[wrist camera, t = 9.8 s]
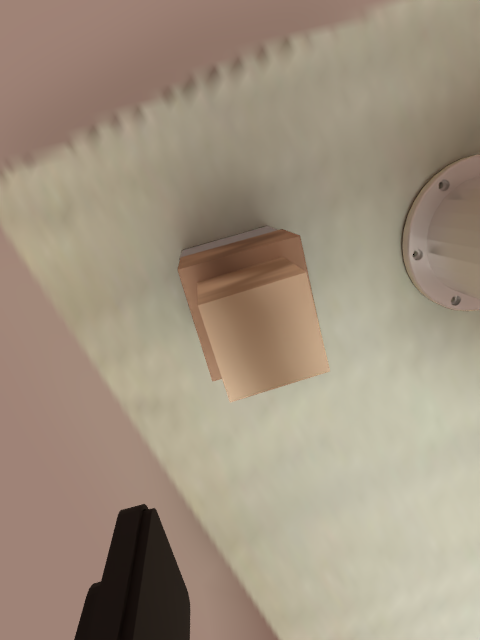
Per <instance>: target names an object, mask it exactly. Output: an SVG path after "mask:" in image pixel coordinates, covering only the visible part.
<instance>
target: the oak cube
mask: <svg viewBox="0 0 480 640" xmlns="http://www.w3.org/2000/svg"><path fill="white" fill-rule="evenodd" d="M197 293H198V307H199V310H200V314H201V317H202V320H203V323H204V326H205V329H206V332H207V335H208V338H209V341H210V344H211V347H212V350H213V353H214V356H215V359H216V362H217V365H218V368H219V371H220V374H221V377H222V380H223V383H224V386H225V389H226V392H227V395H228V398H229V401H230V402H233V401H236V400H239V399H243V398H246V397H249V396H252V395H256V394H259V393H262V392H265V391H268V390H272V389H275V388H278V387H281V386H284V385H288V384H291V383H294V382H297V381H300V380H304V379H307V378H310V377H313V376H317V375H320V374H323V373H326V372H329V371H330V369H329V365H328V361H327V356H326V352H325V348H324V344H323V340H322V335H321V331H320V327H319V323H318V319H317V314H316V310H315V306H314V302H313V298H312V293H311V289H310V285H309V281H308V277H307V272H305V271H304V270H302V269H301V268H299V267H298V266H296V265H295V264H293V263H292V262H290V261H289V260H287V259H286V258H284V257H280V258H277V259H274V260H270V261H267V262H264V263H260V264H257V265H254V266H251V267H247V268H244V269H241V270H238V271H234V272H231V273H228V274H225V275H221V276H218V277H215V278H211V279H208V280H205V281H202V282H198V283H197Z"/></svg>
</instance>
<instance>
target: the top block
mask: <svg viewBox="0 0 480 640" xmlns="http://www.w3.org/2000/svg"><path fill="white" fill-rule="evenodd" d="M280 257H284V258H286V259H287V260H289V261H290V262H292V263H293V264H295V265H296V266H298V267H299V268H301V269H302V270H304V271H305V272H307V277H308V281H309V285H310V280H309V276H308V271H307V266H306V262H305V257H304V252H303V248H302V243H301V238H300V235H297V234H294V233H291V232H288V231H286V230H283V229H280V230H277V231H273V232H270V233H266V234H262V235H259V236H255V237H252V238H248V239H244V240H241V241H237V242H234V243H230V244H227V245H223V246H219V247H216V248H212V249H209V250H205V251H201V252H198V253H194V254H191V255H187V256H183V257H181V258H180V262H179V266H178V273H179V276H180V279H181V282H182V286H183V289H184V292H185V295H186V298H187V301H188V305H189V308H190V311H191V314H192V317H193V321H194V324H195V327H196V330H197V333H198V337H199V340H200V343H201V346H202V349H203V353H204V356H205V359H206V362H207V365H208V369H209V372H210V375H211V378H212V381H216V380H219V379H222V377H221V374H220V371H219V368H218V365H217V362H216V359H215V356H214V353H213V350H212V347H211V344H210V341H209V338H208V335H207V332H206V329H205V326H204V323H203V320H202V317H201V314H200V310H199V307H198V293H197V283H198V282H202V281H205V280H208V279H211V278H215V277H218V276H221V275H225V274H228V273H231V272H234V271H238V270H241V269H244V268H247V267H251V266H254V265H257V264H260V263H264V262H267V261H270V260H274V259H277V258H280ZM310 289H311V285H310ZM311 293H312V290H311ZM312 298H313V295H312ZM313 302H314V299H313ZM314 306H315V304H314ZM315 310H316V309H315ZM316 314H317V313H316ZM317 319H318V318H317Z"/></svg>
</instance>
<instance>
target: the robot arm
mask: <svg viewBox="0 0 480 640" xmlns="http://www.w3.org/2000/svg"><path fill="white" fill-rule="evenodd" d="M439 183H440V187H439ZM402 248H403V259H404V263H405V266H406V270H407V273H408V275H409V277H410V278H411V280H412V282H413V284H414V285H415V286H416V288H417V289H418V290H419V291H420V292H421V293H422V294H423V295H424V296H426V297H427V298H428V299H430V300H431V301H433V302H435V303H437V304H439V305H441V306H444V307H446V308H449V309H453V310H460V311H475V310H480V154H477V155H473V156H469V157H466V158H462V159H460V160H458V161H456V162H454V163H452V164H450V165H448V166H447V167H445V168H444V169H443V170H441V171H440V172H439V173H437V174H436V175H435V176H434V177H433V178H432V179H431V180H430V181H429V182H428V183H427V184H426V185H425V186H424V187H423V189H422V190H421V192H420V193H419V195H418V196H417V198H416V199H415V201H414V203H413V205H412V207H411V209H410V211H409V214H408V216H407V220H406V223H405V227H404V232H403V243H402ZM414 252H415V254H414V256H413V253H414ZM74 640H190V601H189V596H188V591H187V588H186V586H185V583H184V581H183V578H182V575H181V573H180V570H179V568H178V565H177V562H176V560H175V557H174V555H173V552H172V549H171V547H170V544H169V542H168V539H167V537H166V534H165V531H164V529H163V526H162V524H161V521H160V518H159V516H158V513H157V511H156V509H155V508H153V509H148V507H147V506H146V505H145V504H142V505H139V506H135V507H131V508H128V509H124V510H121V511H120V512H119V514H118V517H117V521H116V525H115V529H114V533H113V537H112V541H111V545H110V549H109V553H108V557H107V561H106V565H105V569H104V573H103V577H102V581H101V582H98V583H94V584H93V585H92V586H91V587H90V588H89V591H88V594H87V596H86V600H85V603H84V607H83V611H82V614H81V618H80V621H79V625H78V628H77V632H76V636H75V639H74Z"/></svg>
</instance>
